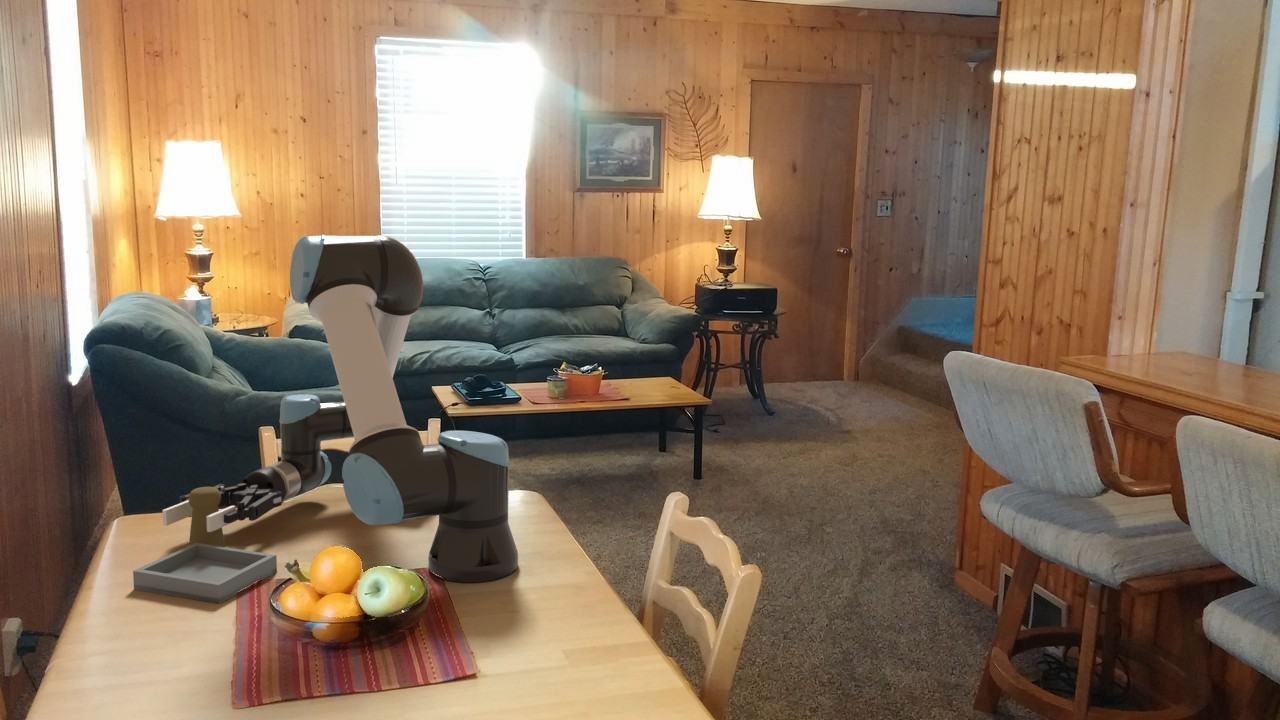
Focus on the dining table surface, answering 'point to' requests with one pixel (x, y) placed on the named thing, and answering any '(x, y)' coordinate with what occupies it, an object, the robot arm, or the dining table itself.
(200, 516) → the cork
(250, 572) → the tray
